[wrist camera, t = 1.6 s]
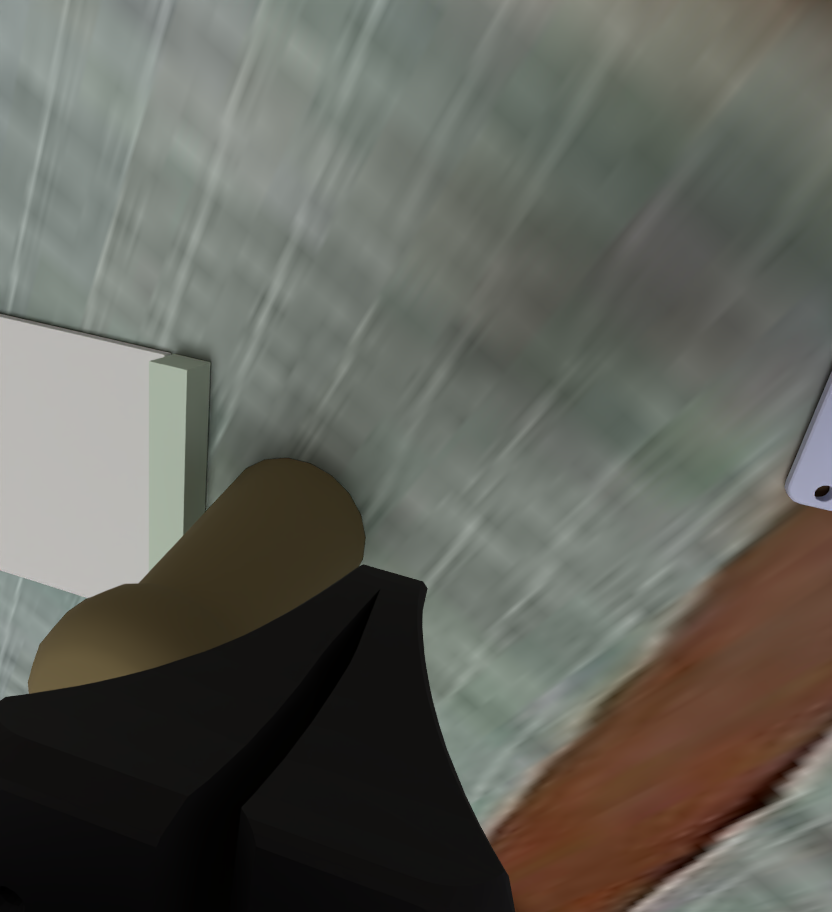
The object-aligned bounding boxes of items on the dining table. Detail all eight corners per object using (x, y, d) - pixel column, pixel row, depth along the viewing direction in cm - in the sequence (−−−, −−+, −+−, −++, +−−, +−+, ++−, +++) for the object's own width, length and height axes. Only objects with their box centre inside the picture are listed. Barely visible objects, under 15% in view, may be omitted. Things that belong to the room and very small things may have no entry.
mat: (171, 353, 23) (164, 354, 23) (167, 616, 28) (161, 621, 27) (-90, 293, 25) (-100, 293, 25) (-55, 546, 30) (-63, 550, 29)
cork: (395, 556, 24) (259, 792, 14) (285, 619, 26) (98, 859, 16) (301, 428, 23) (82, 577, 13) (196, 504, 25) (-60, 681, 15)
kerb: (210, 362, 23) (186, 370, 22) (200, 626, 27) (180, 647, 26) (174, 353, 23) (148, 361, 22) (170, 617, 28) (148, 637, 26)
